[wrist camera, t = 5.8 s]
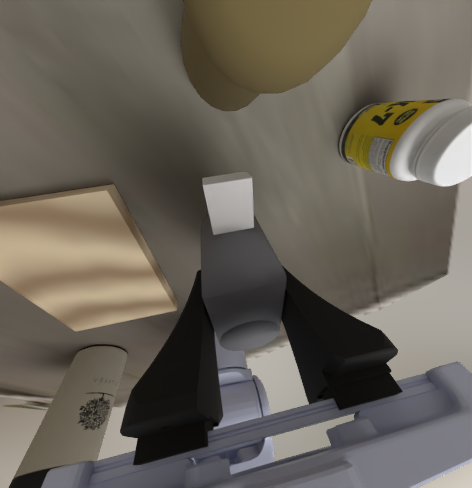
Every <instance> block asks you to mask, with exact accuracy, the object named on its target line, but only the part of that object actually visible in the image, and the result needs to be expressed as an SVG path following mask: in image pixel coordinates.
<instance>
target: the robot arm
mask: <svg viewBox="0 0 472 488" xmlns="http://www.w3.org/2000/svg"><path fill="white" fill-rule="evenodd" d="M282 267H283V266H282ZM283 269H284V271H285V273H286V278H287V280H286V288H285V296H284V303H283V310H282V318H281V319H282V322H283V324H284V327H285V330H286V333H287V336H288V339H289V342H290V345H291V347H292V351H293V354H294V357H295V360H296V363H297V366H298V369H299V373H300V376H301V379H302V383H303V386H304V389H305V393H306V396H307V399H308V402H309V405H305V406H301V407H297V408H294V409H290V410H286V411H283V412H279V413H275V414H270V408H269V403H268V399H267V395H266V392H265V389H264V386H263V384H262V382H261V381H260V380H259V379H258V377H257V376H255V375H253V376H252V372H251V369H248V368H247V363H246V357H245V352H244V351H231V350H226V349H224V348H222V347H221V346H220V344H219V341H218V338H217V336H216V333H215V330H214V328H213V325H212V322H211V320H210V317H209V314H208V312H207V309H206V306H205V304H204V301H203V298H202V282H201V270H199V271H198V272H197V275H196V278H195V282H194V285H193V288H192V291H191V293H190V296H189V298H188V301H187V303H186V305H185V308H184V310H183V312H182V314H181V316H180V318H179V320H178V322H177V324H176V326H175V328H174V329H173V331H172V333H171V335H170V336H169V338H168V340H167V341H166V343H165V344H164V346H163V348H162V349H161V351H160V352H159V354H158V355H157V356H156V358H155V359H154V361H153V362H152V364H151V365H150V367H149V368H148V369H147V371H146V372H145V373H144V375H143V376H142V377H141V379H140V380H139V381H138V383H137V384H136V385H135V387H134V388H133V389H132V391H131V394H130V397H129V400H128V403H127V406H126V409H125V413H124V418H123V422H122V426H121V429H120V433H121V434H122V435H123V436H127V437H133V438H138V441H137V446H136V451H132V452H129V453H125V454H121V455H118V456H114V457H110V458H106V459H102V460H99V461H95V462H94V461H81V462H77V463H73V464H69V465H65V466H61V467H58V468H54V469H51V470H50V471H49V472H48V473H47V475H46V477H45V480H44V482H43V484H42V487H41V488H418V487H420V486H422V485H424V484H426V483H428V482H431V481H433V480H435V479H437V478H439V477H441V476H443V475H445V474H447V473H449V472H452V471H454V470H456V469H458V468H460V467H462V466H464V465H466V464H468V463H470V462H472V373H471V372H469V371H468V370H467V369H466V368H465V367H464V366H463V365H462V364H461V363H460V362H454V363H450V364H447V365H442V366H439V367H436V368H433V369H431V370H429V371H427V372H426V373H425V374H421V375H417V376H414V377H410V378H406V379H402V380H399V381H395V380H394V379H393V377H392V376H391V374H390V372H391V369H390V368H389V366H388V365H387V364H386V363H387V362H388V361H389V360H390V359H392V358H393V357H394V356H395V355H397V353H398V349H397V348H396V347H395V346H394V345H393V343H392V342H391V341H390V340H389V339H388V337H387V336H386V335H385V334H384V333H383V332H382V331H381V330H379V329H377V328H375V327H373V326H371V325H369V324H366V323H364V322H362V321H360V320H358V319H356V318H354V317H353V316H351V315H349V314H347V313H345V312H343V311H342V310H340V309H338V308H337V307H335V306H333V305H332V304H330V303H328V302H327V301H325V300H324V299H322V298H321V297H319V296H318V295H317V294H315V293H314V292H312V291H311V290H310V289H308V288H307V287H306V286H305V285H303V284H302V283H301V282H300V281H298V280H297V279H296V278H295V277H294V276H293V275H292V274H291V273H289V272H288V271H287V270H286V269H285V268H284V267H283ZM354 413H355V415H354V420H353V421H350V422H347V423H343V424H340V425H337V426H336V427H334V428H331V429H328V430H327V435H328V438H329V440H330V443H331V446H328V447H324V448H321V449H317V450H313V451H310V452H306V453H303V454H299V455H296V456H292V457H288V458H285V459H281V460H278V461H275V462H274V457H273V456H274V448H273V441H272V436H275V435H278V434H282V433H285V432H289V431H293V430H296V429H300V428H303V427H307V426H311V425H314V424H318V423H322V422H325V421H328V420H332V419H336V418H339V417H343V416H347V415H350V414H354Z"/></svg>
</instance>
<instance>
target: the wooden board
mask: <svg viewBox="0 0 472 488" xmlns="http://www.w3.org/2000/svg"><path fill="white" fill-rule="evenodd" d="M0 281H2V282H3V283H5V284H6V285H8V286H9V287H11V288H12V289H14V290H15V291H17V292H18V293H20V294H21V295H22V296H24V297H25V298H27V299H28V300H30V301H31V302H33V303H34V304H36V305H37V306H39V307H40V308H42V309H43V310H45V311H46V312H48V313H49V314H51V315H52V316H54V317H55V318H56V319H58V320H59V321H61V322H62V323H64V324H65V325H67V326H68V327H70V328H71V329H73V330H74V331H81V330H86V329H90V328H95V327H100V326H105V325H109V324H114V323H119V322H124V321H129V320H133V319H138V318H143V317H148V316H152V315H157V314H162V313H167V312H172V311H176V310H177V303H178V301H177V299H176V297H175V296H174V294H173V292H172V290H171V288H170V286H169V285H168V283H167V281H166V279H165V277H164V275H163V273H162V272H161V270H160V268H159V266H158V264H157V262H156V261H155V259H154V257H153V255H152V253H151V251H150V249H149V248H148V246H147V244H146V242H145V240H144V238H143V237H142V235H141V233H140V231H139V229H138V227H137V225H136V224H135V222H134V220H133V218H132V216H131V214H130V213H129V211H128V209H127V207H126V205H125V203H124V201H123V200H122V198H121V196H120V194H119V192H118V190H117V189H116V187H115V185H114V184H112V185H105V186H98V187H92V188H85V189H78V190H72V191H65V192H58V193H52V194H45V195H38V196H31V197H25V198H18V199H11V200H5V201H0Z"/></svg>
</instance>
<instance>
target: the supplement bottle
mask: <svg viewBox="0 0 472 488" xmlns="http://www.w3.org/2000/svg"><path fill="white" fill-rule="evenodd" d="M339 150H340V154H341V157H342V158H343V159H344V160H345V161H346V162H348V163H350V164H353V165H356V166H359V167H362V168H365V169H368V170H371V171H374V172H377V173H380V174H383V175H386V176H389V177H392V178H395V179H398V180H402V181H414V180H421V181H423V182H427V183H431V184H435V185H438V186H451V185H455V184H457V183H460V182H462V181H464V180H466V179H467V178H469V177H471V176H472V105H471V104H470V103H469V102H467V101H465V100H461V99H442V100H423V101H404V102H383V103H374V104H370V105H368V106H366V107H364V108H362V109H361V110H360V111H358V112H357V113H356V114H355V115H354V116H353V117H352V118H351V119H350V120H349V122H348V123H347V125H346V126H345V128H344V130H343V132H342V135H341V138H340V143H339Z"/></svg>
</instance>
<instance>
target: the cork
mask: <svg viewBox="0 0 472 488" xmlns="http://www.w3.org/2000/svg"><path fill="white" fill-rule="evenodd" d="M183 2H184V5H185V8H184V14H183V20H182V33H181V47H182V54H183V61H184V65H185V68H186V71H187V73H188V76H189V79H190V81H191V83H192V85H193V86H194V88H195V89H196V91H197V92H198V94H199V95H200V97H201V98H203V99H204V100H205V101H206V102H207V103H209V104H210V105H211V106H212V107H215V108H218V109H220V110H223V111H236V110H239V109H241V108H243V107H245V106H248V105H249V104H250V103H251V102H252V101H253V100H254V99H255V98H256V97H257V96H258V95H259V94H260V93H281V92H285V91H287V90H290V89H292V88H294V87H296V86H299V85H301V84H303V83H305V82H308V81H309V80H310V79H311V78H312V77H313V76H314V75H315V74H316V73H318V72H319V71H320V70H321V69H322V68H323V67H324V66H325V65H326V64H328V63H329V62H330V61H331V60H332V59H333V58H334V57H335V56H336V55H337V54H338V53H339V52H340V51H341V50H342V48H343V47H344V46H345V44H346V43H347V41H348V40H349V38H350V37H351V35H352V34H353V33H354V31H355V30H356V28H357V27H358V25H359V24H360V22H361V21H362V20H363V18H364V17H365V15H366V13H367V10H368V8H369V6H370V4H371V2H372V0H183Z"/></svg>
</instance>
